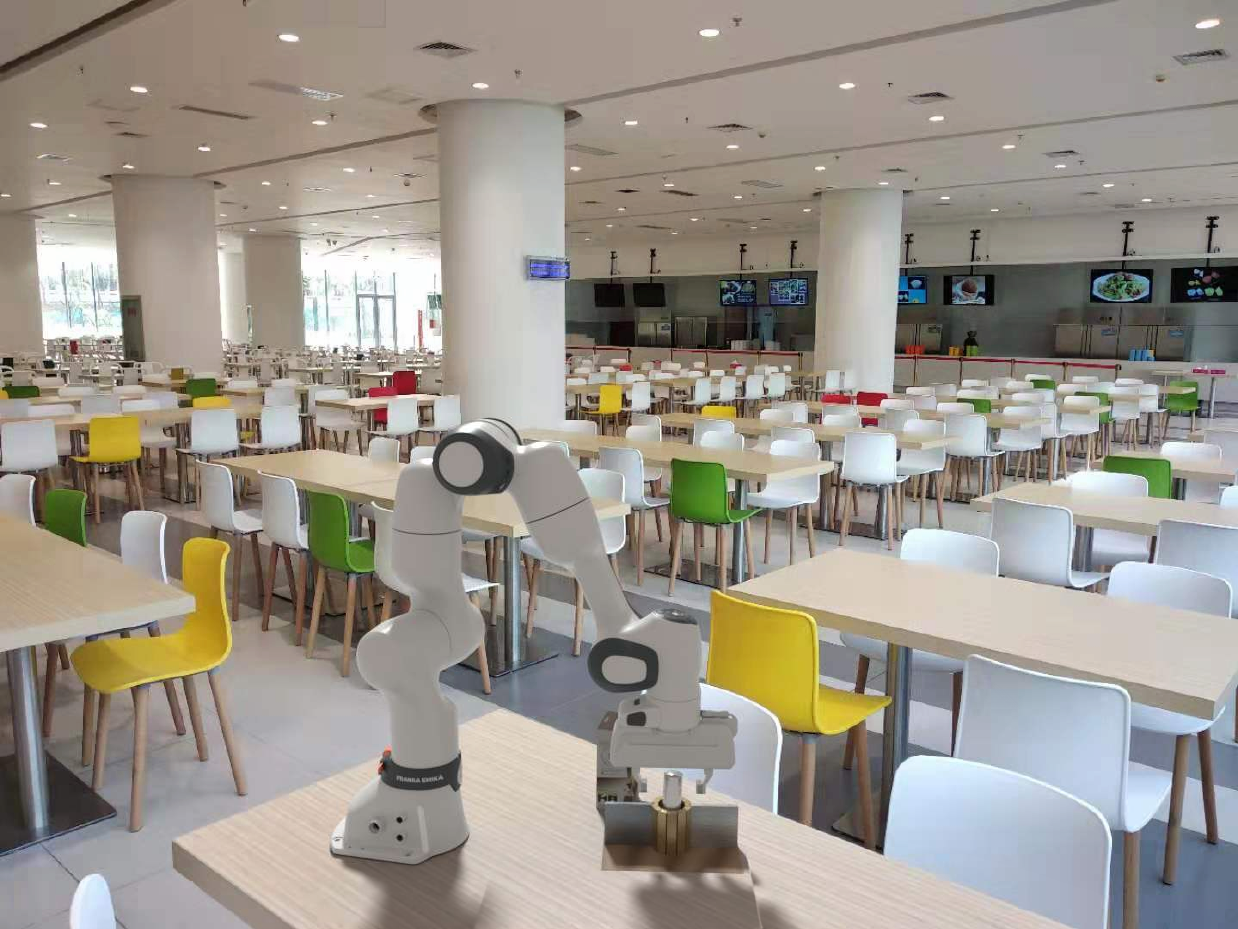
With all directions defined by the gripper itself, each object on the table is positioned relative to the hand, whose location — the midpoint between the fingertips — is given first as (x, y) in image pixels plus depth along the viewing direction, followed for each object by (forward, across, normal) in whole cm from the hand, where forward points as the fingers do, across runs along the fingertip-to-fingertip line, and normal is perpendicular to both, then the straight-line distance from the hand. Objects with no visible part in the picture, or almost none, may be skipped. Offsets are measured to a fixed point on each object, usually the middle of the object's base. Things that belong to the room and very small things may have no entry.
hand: (671, 792), depth 155 cm
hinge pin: (+9, 0, 0) cm, 9 cm away
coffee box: (+11, +9, -16) cm, 21 cm away
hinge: (+9, 0, 0) cm, 9 cm away
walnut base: (+11, 0, +2) cm, 11 cm away
